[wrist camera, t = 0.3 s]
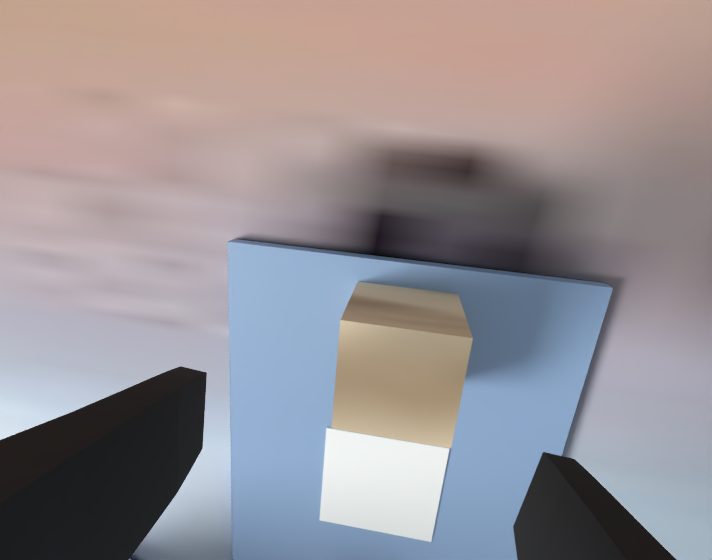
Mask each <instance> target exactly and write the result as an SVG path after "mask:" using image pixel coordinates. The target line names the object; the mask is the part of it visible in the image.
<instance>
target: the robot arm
mask: <svg viewBox="0 0 712 560" xmlns="http://www.w3.org/2000/svg"><path fill="white" fill-rule="evenodd" d="M206 374H207V373H206V372H201V371H197V370H193V369H189V368H184V367H178V368H175V369H172V370H170V371H167V372H165V373H162V374H160V375H157V376H155V377H153V378H150V379H148V380H146V381H143V382H141V383H139V384H136V385H134V386H132V387H130V388H127V389H125V390H123V391H120V392H118V393H116V394H113V395H111V396H109V397H106V398H104V399H102V400H99V401H97V402H95V403H92V404H90V405H88V406H85V407H83V408H81V409H78V410H76V411H74V412H71V413H69V414H66V415H64V416H61V417H58V418H56V419H53V420H51V421H48V422H46V423H43V424H41V425H38V426H35V427H33V428H30V429H28V430H25V431H23V432H20V433H18V434H15V435H12V436H10V437H7V438H5V439H2V440H0V560H132V559H130V557H131V556H132V554H133V553H134V551H135V550H136V549H137V547H138V546H139V545H140V543H141V542H142V541H143V539H144V538H145V537H146V535H147V534H148V532H149V531H150V530H151V528H152V527H153V526H154V524H155V523H156V521H157V520H158V519H159V517H160V516H161V515H162V513H163V512H164V510H165V509H166V508H167V506H168V505H169V503H170V502H171V501H172V499H173V498H174V496H175V495H176V494H177V492H178V490H179V489H180V487H181V485H182V483H183V482H184V480H185V478H186V477H187V475H188V473H189V472H190V470H191V468H192V466H193V464H194V463H195V461H196V459H197V457H198V455H199V454H200V452H201V450H202V446H203V428H204V410H205V392H206ZM513 530H514V537H515V544H516V552H517V559H518V560H676V559H675V558H674V557H673V556H672V555H671V554H670V553H669V552H668V551H667V550H666V549H665V548H664V547H663V546H662V545H661V544H660V543H659V542H658V541H657V540H656V539H655V538H654V537H653V536H652V535H651V534H650V533H649V532H648V531H647V530H646V529H645V528H644V527H643V526H642V525H641V524H640V523H639V522H638V521H637V520H636V519H635V518H634V517H633V516H632V515H631V514H630V513H629V512H628V511H627V510H626V509H625V508H624V507H623V506H622V505H621V504H620V503H619V502H618V501H617V500H616V499H615V498H614V497H613V496H612V495H611V494H610V493H609V492H608V491H607V490H606V489H605V488H604V487H603V486H602V485H601V484H600V483H599V482H598V481H597V480H596V479H595V478H594V477H593V476H592V475H591V474H590V473H589V472H588V471H587V470H586V469H584V468H583V467H582V466H581V465H580V464H579V463H578V462H577V461H576V460H574V459H572V458H567V457H563V456H559V455H555V454H550V453H546V452H543V453H542V456H541V458H540V461H539V463H538V466H537V468H536V471H535V473H534V476H533V478H532V481H531V483H530V486H529V488H528V491H527V493H526V496H525V498H524V501H523V503H522V506H521V508H520V511H519V513H518V516H517V518H516V521H515V523H514V526H513Z"/></svg>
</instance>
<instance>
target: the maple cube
mask: <svg viewBox="0 0 712 560" xmlns="http://www.w3.org/2000/svg"><path fill="white" fill-rule="evenodd" d="M472 340H473V337H472V334H471V331H470V328H469V325H468V322H467V319H466V316H465V313H464V310H463V307H462V304H461V301H460V298H459V295H458V294H453V293H445V292H437V291H430V290H422V289H414V288H406V287H398V286H390V285H382V284H374V283H366V282H359V281H358V282H357V284H356V286H355V289H354V291H353V293H352V295H351V297H350V300H349V302H348V304H347V306H346V308H345V311H344V313H343V315H342V317H341V319H340V329H339V342H338V354H337V366H336V378H335V391H334V403H333V415H332V428H333V429H339V430H344V431H350V432H356V433H362V434H368V435H374V436H380V437H386V438H392V439H398V440H404V441H410V442H416V443H422V444H428V445H434V446H439V447H445V448H451V446H452V441H453V436H454V431H455V426H456V421H457V416H458V411H459V406H460V401H461V396H462V391H463V386H464V381H465V376H466V371H467V366H468V361H469V356H470V350H471V345H472Z"/></svg>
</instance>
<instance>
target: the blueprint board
mask: <svg viewBox="0 0 712 560" xmlns="http://www.w3.org/2000/svg"><path fill="white" fill-rule="evenodd" d="M358 281H359V282H366V283H374V284H382V285H390V286H398V287H406V288H414V289H422V290H430V291H437V292H445V293H453V294H458V295H459V298H460V301H461V304H462V307H463V310H464V313H465V316H466V319H467V322H468V325H469V328H470V331H471V334H472V337H473V340H472V345H471V350H470V356H469V361H468V366H467V371H466V376H465V381H464V386H463V391H462V396H461V401H460V406H459V411H458V416H457V421H456V426H455V431H454V436H453V441H452V446H451V448H445V447H439V446H434V445H428V444H422V443H416V442H410V441H404V440H398V439H392V438H386V437H380V436H374V435H368V434H362V433H356V432H350V431H344V430H339V429H333V428H332V415H333V403H334V391H335V378H336V366H337V354H338V342H339V329H340V319H341V317H342V315H343V313H344V311H345V308H346V306H347V304H348V302H349V300H350V297H351V295H352V293H353V291H354V289H355V286H356V284H357V282H358ZM228 285H229V356H230V428H231V500H232V560H518V559H517V552H516V544H515V537H514V530H513V526H514V523H515V521H516V518H517V516H518V513H519V511H520V508H521V506H522V503H523V501H524V498H525V496H526V493H527V491H528V488H529V486H530V483H531V481H532V478H533V476H534V473H535V471H536V468H537V466H538V463H539V461H540V458H541V456H542V453H543V452H546V453H550V454H555V455H559V456H562V453H563V450H564V447H565V443H566V440H567V437H568V434H569V430H570V427H571V424H572V421H573V417H574V414H575V411H576V408H577V404H578V401H579V398H580V395H581V391H582V388H583V385H584V382H585V378H586V375H587V372H588V368H589V365H590V362H591V359H592V355H593V352H594V349H595V346H596V342H597V339H598V336H599V333H600V329H601V326H602V323H603V320H604V316H605V313H606V310H607V307H608V303H609V300H610V297H611V294H612V290H613V288H612V287H611V286H609V285H608V284H606V283H601V282H592V281H584V280H575V279H567V278H559V277H550V276H542V275H533V274H525V273H517V272H508V271H500V270H491V269H483V268H475V267H466V266H458V265H449V264H441V263H433V262H424V261H416V260H407V259H399V258H391V257H382V256H374V255H365V254H357V253H349V252H340V251H332V250H323V249H315V248H307V247H298V246H290V245H281V244H273V243H265V242H256V241H248V240H239V239H233V240H231V241H228Z"/></svg>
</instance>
